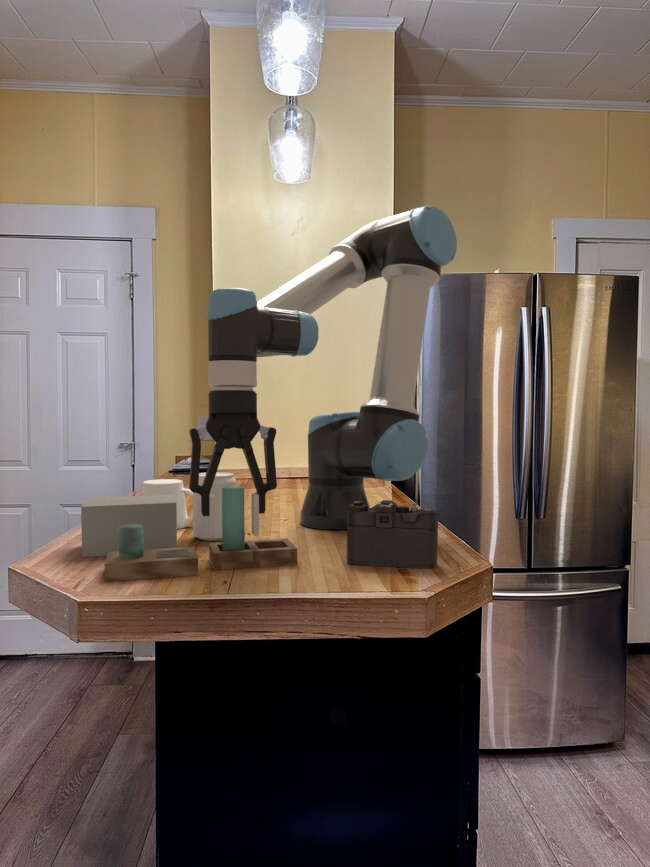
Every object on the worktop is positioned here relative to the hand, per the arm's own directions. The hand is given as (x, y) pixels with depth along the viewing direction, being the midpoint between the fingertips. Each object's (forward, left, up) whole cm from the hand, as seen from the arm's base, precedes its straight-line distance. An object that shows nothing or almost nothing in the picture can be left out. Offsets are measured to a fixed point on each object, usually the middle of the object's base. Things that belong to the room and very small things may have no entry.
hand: (233, 534), depth 99 cm
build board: (-3, 0, -4) cm, 5 cm away
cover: (+16, -15, -4) cm, 22 cm away
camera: (-25, +5, -5) cm, 26 cm away
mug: (+9, -33, -5) cm, 35 cm away
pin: (0, 0, -4) cm, 4 cm away
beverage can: (+1, -20, -5) cm, 21 cm away
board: (+12, +2, -4) cm, 13 cm away
